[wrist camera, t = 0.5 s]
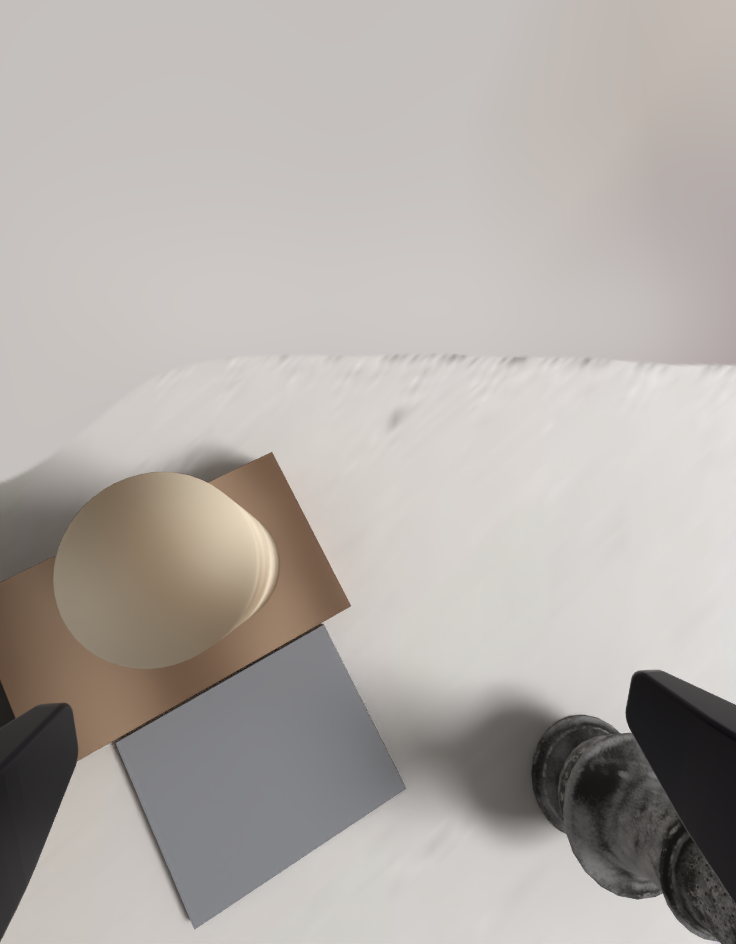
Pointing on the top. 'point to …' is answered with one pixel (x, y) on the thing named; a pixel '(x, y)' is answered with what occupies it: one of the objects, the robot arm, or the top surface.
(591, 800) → the salt shaker
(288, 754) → the mat
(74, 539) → the birch cylinder
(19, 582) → the wooden track
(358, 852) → the top surface
